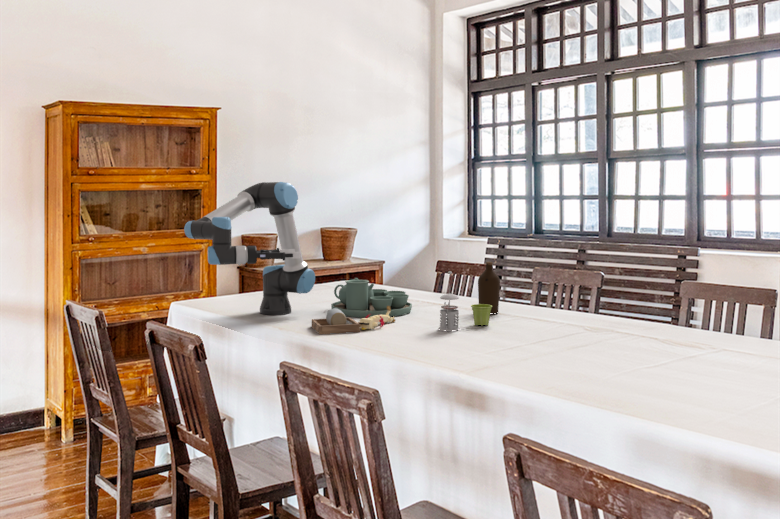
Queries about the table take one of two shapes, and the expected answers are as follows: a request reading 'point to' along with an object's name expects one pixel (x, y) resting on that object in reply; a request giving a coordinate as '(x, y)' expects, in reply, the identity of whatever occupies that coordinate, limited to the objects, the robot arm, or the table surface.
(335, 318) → the ceramic mug
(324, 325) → the tray
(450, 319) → the french press
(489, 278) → the olive oil
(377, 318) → the cat figure
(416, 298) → the table surface
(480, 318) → the plant pot
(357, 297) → the tea set
